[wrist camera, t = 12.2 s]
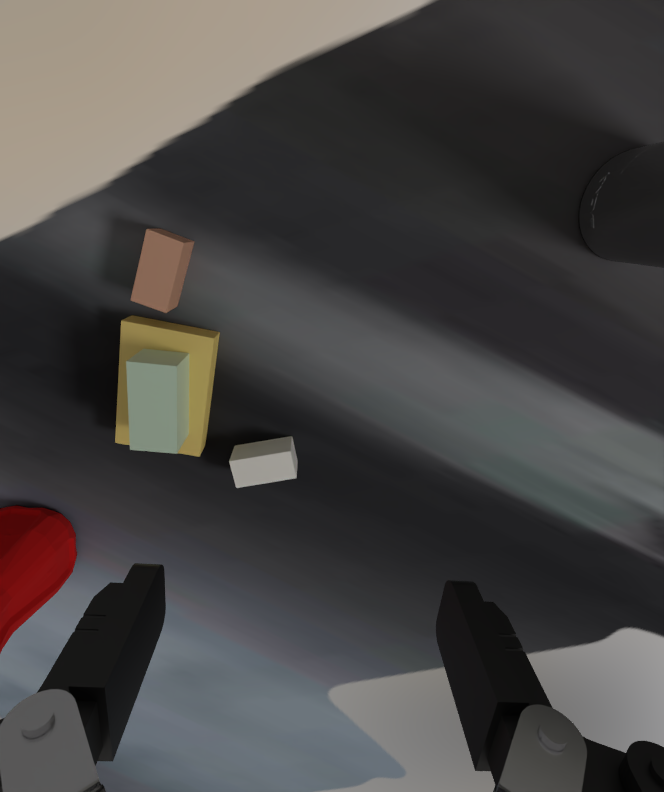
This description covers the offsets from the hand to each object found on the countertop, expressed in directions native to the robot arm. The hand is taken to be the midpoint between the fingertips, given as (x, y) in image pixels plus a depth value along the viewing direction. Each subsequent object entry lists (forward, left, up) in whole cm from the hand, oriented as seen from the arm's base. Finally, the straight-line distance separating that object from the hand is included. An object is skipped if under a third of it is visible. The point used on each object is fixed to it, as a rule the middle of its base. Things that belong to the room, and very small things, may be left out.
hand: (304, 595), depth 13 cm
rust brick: (+13, -5, -32) cm, 35 cm away
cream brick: (+4, +13, -32) cm, 35 cm away
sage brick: (+13, +6, -30) cm, 33 cm away
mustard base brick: (+13, +6, -33) cm, 36 cm away
